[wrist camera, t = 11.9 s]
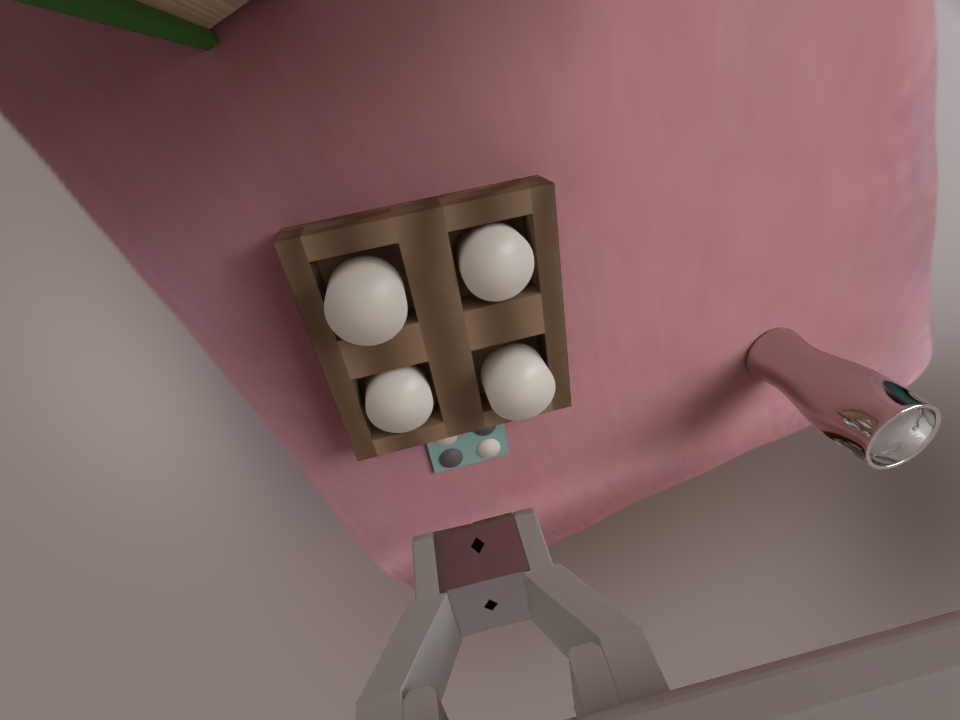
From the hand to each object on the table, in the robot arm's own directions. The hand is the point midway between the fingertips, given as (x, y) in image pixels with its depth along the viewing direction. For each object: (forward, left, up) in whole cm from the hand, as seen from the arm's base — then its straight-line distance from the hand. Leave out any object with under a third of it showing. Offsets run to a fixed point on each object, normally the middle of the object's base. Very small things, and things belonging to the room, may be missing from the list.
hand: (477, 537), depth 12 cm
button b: (+4, +3, -27) cm, 27 cm away
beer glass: (-35, +21, -31) cm, 51 cm away
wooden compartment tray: (-1, +8, -31) cm, 32 cm away
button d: (+4, +13, -29) cm, 32 cm away
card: (-1, +22, -31) cm, 38 cm away
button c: (-6, +13, -27) cm, 31 cm away
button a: (-6, +3, -29) cm, 30 cm away
